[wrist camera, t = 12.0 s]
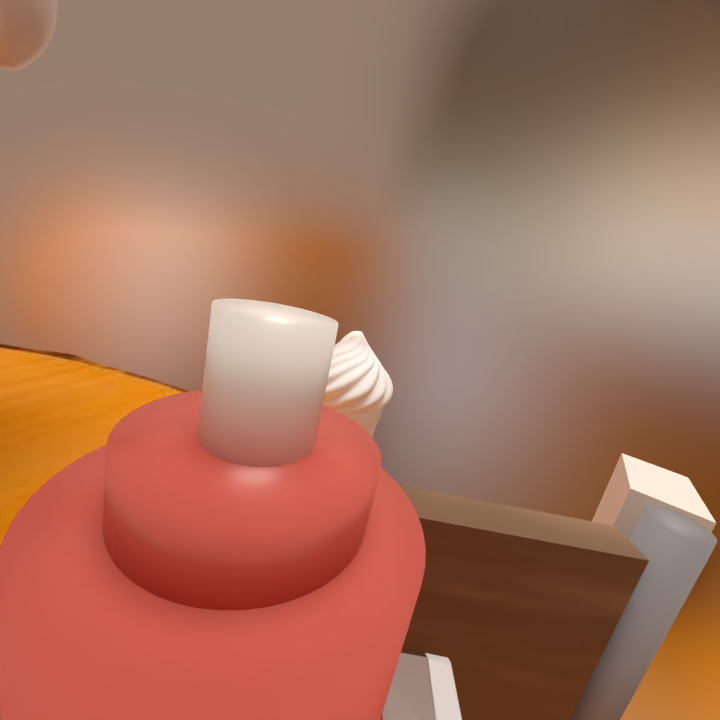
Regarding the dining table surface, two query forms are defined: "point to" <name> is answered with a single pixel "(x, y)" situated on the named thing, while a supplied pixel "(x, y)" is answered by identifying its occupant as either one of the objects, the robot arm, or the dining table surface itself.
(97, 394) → the dining table surface
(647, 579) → the white-tipped grey slat
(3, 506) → the dining table surface
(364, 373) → the soft serve ice cream cone
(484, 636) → the door
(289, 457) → the ketchup bottle
